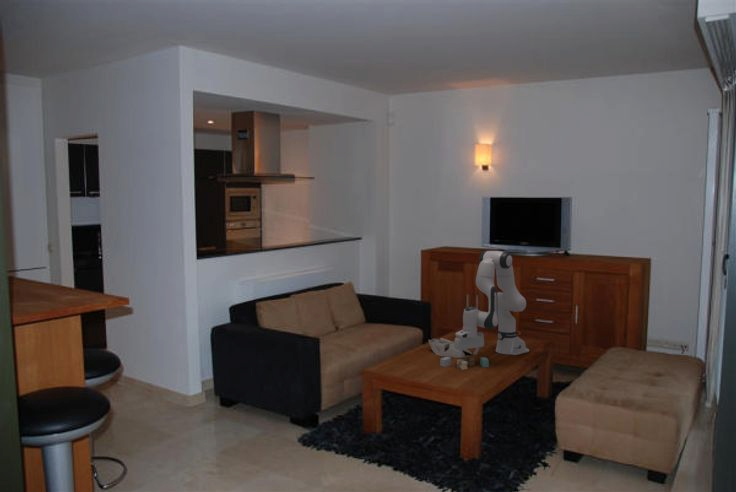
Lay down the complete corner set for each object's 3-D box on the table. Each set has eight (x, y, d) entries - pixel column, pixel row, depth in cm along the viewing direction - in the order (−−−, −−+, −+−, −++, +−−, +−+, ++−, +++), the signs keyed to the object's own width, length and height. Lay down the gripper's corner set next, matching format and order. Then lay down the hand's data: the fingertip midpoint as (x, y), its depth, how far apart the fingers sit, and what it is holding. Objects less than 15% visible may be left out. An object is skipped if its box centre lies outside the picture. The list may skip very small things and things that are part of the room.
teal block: (480, 364, 379) (480, 357, 378) (485, 364, 379) (485, 357, 378) (482, 367, 373) (483, 360, 372) (488, 367, 373) (488, 360, 373)
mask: (438, 332, 421) (476, 340, 402) (438, 345, 422) (476, 354, 403) (421, 338, 406) (460, 347, 387) (421, 351, 407) (460, 360, 388)
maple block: (456, 367, 373) (456, 360, 373) (461, 366, 375) (461, 359, 374) (462, 370, 368) (462, 362, 367) (467, 369, 369) (467, 361, 369)
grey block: (446, 363, 380) (446, 356, 379) (450, 365, 377) (450, 357, 377) (440, 366, 376) (440, 358, 375) (444, 367, 373) (444, 359, 373)
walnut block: (464, 363, 381) (464, 356, 381) (469, 362, 383) (469, 355, 382) (470, 365, 376) (470, 358, 376) (474, 365, 378) (474, 357, 377)
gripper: (480, 330, 385) (479, 352, 386) (453, 333, 376) (452, 355, 377) (486, 332, 379) (485, 354, 380) (459, 335, 370) (458, 358, 371)
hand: (469, 355), depth 378 cm, fingers open, 8 cm apart
